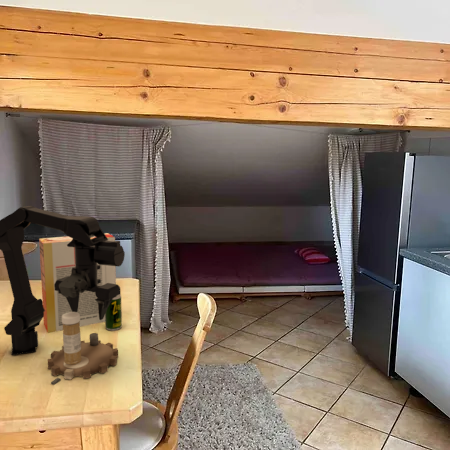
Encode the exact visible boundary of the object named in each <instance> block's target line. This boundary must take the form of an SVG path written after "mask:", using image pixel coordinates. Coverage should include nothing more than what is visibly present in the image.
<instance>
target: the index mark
mask: <svg viewBox="0 0 450 450" xmlns="http://www.w3.org/2000/svg"><path fill="white" fill-rule="evenodd" d="M61 380H62V379H61V377H57V378H55V379H54V380H52V381H50V385H52V386H53V385H54V386H55V385H56V384H58V383H59V382H60V381H61Z"/></svg>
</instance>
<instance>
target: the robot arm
mask: <svg viewBox="0 0 450 450" xmlns="http://www.w3.org/2000/svg"><path fill="white" fill-rule="evenodd" d="M30 224H34V225H38V226H42V227H46V228H49V229H53V230H57V231H60V232H62V233H64V234H65V235H66V237H67V236H69V237H71V238H73V239H72V241H71V242H70V243H69V244H67V246H68V247H75V267H74V268H72V270H71V272H72V273H71V275H70V276H67V277H64V278H61V279H58V280H56V282H55V284H54V287H55V291H58V293H59V294H62V296H65V297H66V299H67V301H68V303H69V305H70V308H71V310H72V312H77V311H78V304H79V294H80V293H83V292H84V291H91V292H95V295H96V297H97V299H95V300H96V301H97V302H98V309H99V319H100V320H102V319H103V318H104V315H105V313H106V311H107V309H108V306H109V304H110V303H111V301H112V299H113V298H114V297H116V296H117V295H121V287H120V285H119V284H118V283H116V284H111V283H107V284H104V285H102V286H98V284H99V283H101V279H98V277H97V270H98V269H100V265H108V266H116V267H121V266H122V265H123V263H124V261H125V251H124V247H123V246H122V245H121V240H115V241H107V240H108V238H107V237H106V235H105V234H104V233H105V232H104V231H103V230H102V228H101V226H100V224H99V221H98V219H97V218H95V217H93V216H85V215H84V216H83V215H82V216H81V215H80V216H79V215H78V216H77V215H76V216H70V215H65V214H62V213H59V212H58V213H57V212H53V211H50V210H45V209H41V208H37V207H36V206H33V205H28V206H27V205H26V206H22V207H18V208H17V209H16V210H15V211H13V212H12V213H10V214H8V215H7V216H5V217H3V218H1V219H0V251H1V253H2V255H3V260H4V262H5V263H4V264H5V267H6V271H7V276H8V280H9V284H10V287H11V288H10V289H11V293H12V296H13V302H12V303H13V304H12V307H11V308H10V309H11V310H10V313H11V320H10V321H9V322H8V323H7V324H6V325H5V326H4V329H3V330H4V332H5V334H6V335H7V336H10V338H11V356H16V355H23V354H24V355H26V354H31V353H36V352H37V348H38V347H39V339H38V338H39V337H38V331H37V330H36V327H38V326H40V325H41V324H40V323H41V321H42V320H43V317H44V311H45V309H44V308H43V300H42V298H36V296H34V294H33V292H32V287H31V283H30V280H29V274H28V270H27V266H26V261H25V258H24V252H23V248H22V247H23V244H24V240H25V229H26V228H27V227H29V226H30ZM94 236H95V237H96V238H93V239H90V238H92V237H94ZM97 263H98V264H99V265H97Z"/></svg>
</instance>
